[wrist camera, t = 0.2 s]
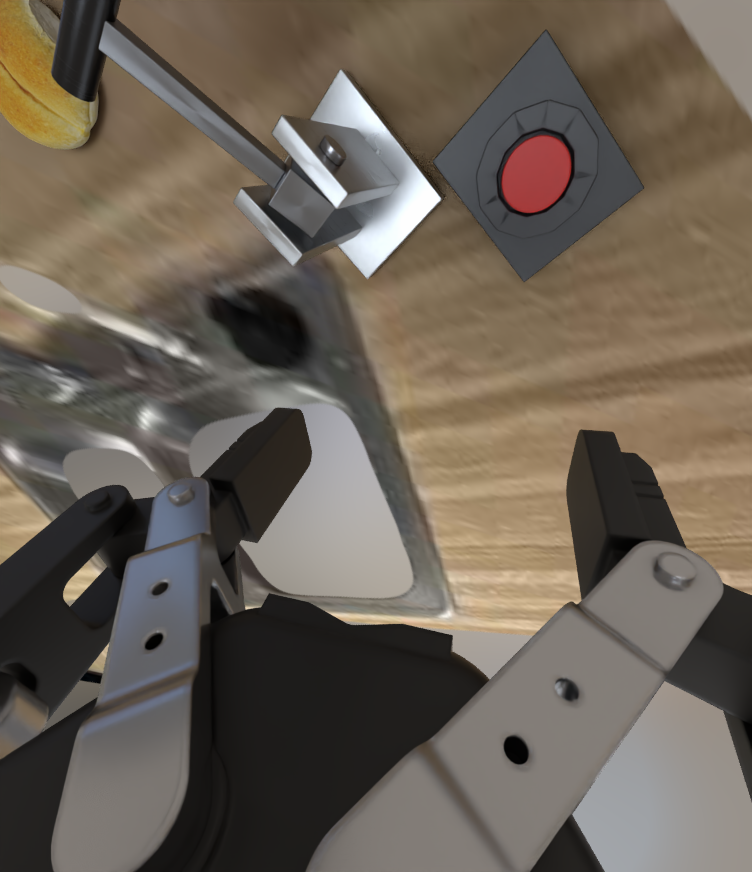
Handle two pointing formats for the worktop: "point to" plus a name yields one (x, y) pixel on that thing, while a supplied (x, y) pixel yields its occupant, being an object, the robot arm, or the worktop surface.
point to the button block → (520, 120)
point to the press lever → (175, 102)
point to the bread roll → (38, 79)
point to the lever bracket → (347, 182)
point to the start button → (536, 173)
